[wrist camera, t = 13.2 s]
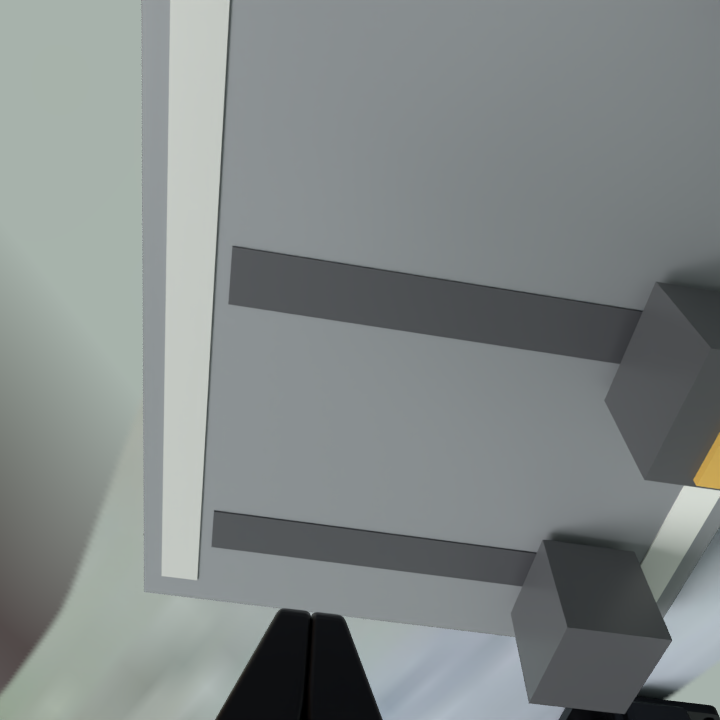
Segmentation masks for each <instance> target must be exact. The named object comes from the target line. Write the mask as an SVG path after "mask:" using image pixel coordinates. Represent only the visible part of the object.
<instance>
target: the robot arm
mask: <svg viewBox="0 0 720 720" xmlns="http://www.w3.org/2000/svg"><path fill="white" fill-rule="evenodd" d="M215 720H382V717H381V714H380V712H379V709H378V706H377V704H376V701H375V698H374V696H373V693H372V690H371V687H370V685H369V682H368V679H367V677H366V674H365V671H364V669H363V666H362V663H361V661H360V658H359V655H358V653H357V650H356V647H355V645H354V642H353V639H352V637H351V634H350V631H349V628H348V626H347V623H346V621H345V619H344V618H343V617H342V616H341V615H338V614H330V613H322V612H315V613H313V614H312V616H311V615H310V613H309V612H308V611H305V610H297V609H289V608H282V609H280V610H279V611H278V612H277V613H276V615H275V617H274V619H273V620H272V622H271V624H270V625H269V627H268V629H267V631H266V632H265V634H264V636H263V638H262V639H261V641H260V643H259V645H258V646H257V648H256V650H255V651H254V653H253V655H252V657H251V658H250V660H249V662H248V664H247V665H246V667H245V669H244V671H243V672H242V674H241V676H240V677H239V679H238V681H237V683H236V684H235V686H234V688H233V690H232V691H231V693H230V695H229V697H228V698H227V700H226V702H225V703H224V705H223V707H222V709H221V710H220V712H219V714H218V716H217V717H216V719H215ZM559 720H720V717H719V715H718V713H717V710H716V708H715V707H713V706H710V705H703V704H695V703H686V702H677V701H669V700H660V699H652V698H643V697H635V699H634V700H633V702H632V704H631V705H630V707H629V708H628V710H627V711H626V713H625V714H619V713H610V712H601V711H593V710H584V709H575V708H567V707H566V708H565V710H564V712H563V713H562V715H561V717H560V719H559Z"/></svg>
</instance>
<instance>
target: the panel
mask: <svg viewBox="0 0 720 720" xmlns="http://www.w3.org/2000/svg"><path fill="white" fill-rule="evenodd" d="M141 3H142V4H141V5H142V6H141V9H142V10H141V11H142V217H143V219H142V221H143V223H142V225H143V440H144V592H149V593H158V594H166V595H174V596H182V597H190V598H199V599H207V600H215V601H223V602H232V603H240V604H248V605H256V606H264V607H273V608H281V609H282V608H289V609H297V610H305V611H308V612H314V613H315V612H322V613H330V614H338V615H341V616H347V617H355V618H363V619H371V620H380V621H388V622H396V623H404V624H412V625H421V626H429V627H437V628H445V629H454V630H462V631H470V632H478V633H486V634H495V635H503V636H511V637H516V642H517V647H518V652H519V657H520V662H521V667H522V671H523V676H524V681H525V686H526V691H527V696H528V701H529V703H532V704H540V705H549V706H558V707H567V708H575V709H584V710H593V711H601V712H610V713H619V714H625V713H626V711H627V710H628V708H629V707H630V705H631V704H632V702H633V700H634V699H635V697H636V696H637V694H638V693H639V691H640V690H641V688H642V686H643V685H644V683H645V682H646V680H647V679H648V677H649V676H650V674H651V673H652V671H653V669H654V668H655V666H656V665H657V663H658V662H659V660H660V659H661V657H662V655H663V654H664V652H665V651H666V649H667V648H668V646H669V645H670V643H671V641H672V639H671V636H670V634H669V632H668V629H667V627H666V625H665V622H664V620H663V618H664V616H665V615H666V613H667V611H668V610H669V608H670V607H671V605H672V603H673V602H674V600H675V598H676V597H677V595H678V594H679V592H680V590H681V589H682V587H683V585H684V584H685V582H686V581H687V579H688V577H689V576H690V574H691V572H692V571H693V569H694V568H695V566H696V564H697V563H698V561H699V560H700V558H701V556H702V555H703V553H704V551H705V550H706V548H707V547H708V545H709V543H710V542H711V540H712V538H713V537H714V535H715V534H716V532H717V530H718V529H719V527H720V491H719V490H712V489H705V488H698V487H690V486H683V485H676V484H669V483H662V482H655V481H648V480H644V478H643V476H642V474H641V472H640V470H639V468H638V467H637V465H636V463H635V461H634V459H633V457H632V455H631V453H630V451H629V449H628V447H627V445H626V443H625V441H624V439H623V437H622V435H621V433H620V431H619V429H618V427H617V425H616V423H615V421H614V419H613V417H612V415H611V413H610V411H609V409H608V407H607V405H606V403H605V401H604V400H605V398H606V395H607V393H608V391H609V388H610V386H611V384H612V382H613V379H614V377H615V375H616V372H617V370H618V368H619V365H620V363H621V361H622V358H623V356H624V354H625V352H626V349H627V347H628V345H629V342H630V340H631V338H632V335H633V333H634V331H635V328H636V326H637V324H638V322H639V319H640V317H641V315H642V312H643V310H644V308H645V305H646V303H647V301H648V299H649V296H650V294H651V292H652V289H653V287H654V285H655V282H661V283H668V284H674V285H680V286H686V287H692V288H698V289H705V290H711V291H717V292H720V0H141Z"/></svg>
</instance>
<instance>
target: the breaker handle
mask: <svg viewBox="0 0 720 720" xmlns="http://www.w3.org/2000/svg"><path fill="white" fill-rule="evenodd" d="M604 401H605V403H606V405H607V407H608V409H609V411H610V413H611V415H612V417H613V419H614V421H615V423H616V425H617V427H618V429H619V431H620V433H621V435H622V437H623V439H624V441H625V443H626V445H627V447H628V449H629V451H630V453H631V455H632V457H633V459H634V461H635V463H636V465H637V467H638V468H639V470H640V472H641V474H642V476H643V478H644V480H648V481H655V482H662V483H669V484H676V485H683V486H690V487H698V488H705V489H712V490H719V491H720V292H717V291H711V290H705V289H698V288H692V287H686V286H680V285H674V284H668V283H661V282H655V285H654V287H653V289H652V292H651V294H650V296H649V299H648V301H647V303H646V305H645V308H644V310H643V312H642V315H641V317H640V319H639V322H638V324H637V326H636V328H635V331H634V333H633V335H632V338H631V340H630V342H629V345H628V347H627V349H626V352H625V354H624V356H623V358H622V361H621V363H620V365H619V368H618V370H617V372H616V375H615V377H614V379H613V382H612V384H611V386H610V388H609V391H608V393H607V395H606V398H605V400H604Z"/></svg>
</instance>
